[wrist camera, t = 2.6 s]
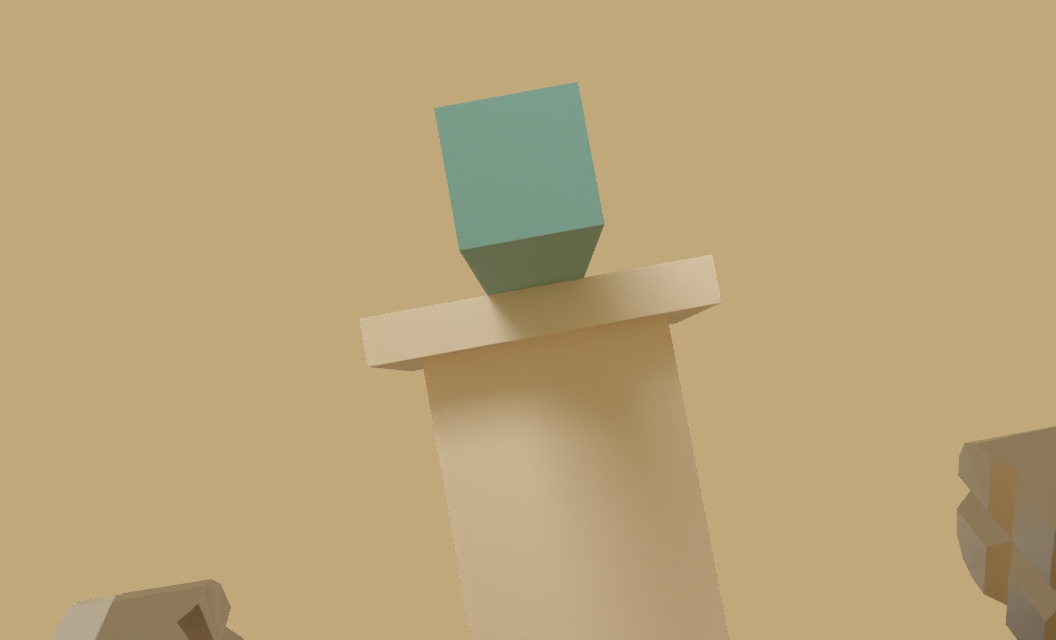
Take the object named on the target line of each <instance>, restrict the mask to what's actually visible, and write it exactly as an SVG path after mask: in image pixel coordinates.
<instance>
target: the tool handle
mask: <svg viewBox="0 0 1056 640" xmlns="http://www.w3.org/2000/svg"><path fill="white" fill-rule="evenodd" d="M434 110H435V115H436V120H437V126H438V132H439V138H440V143H441V149H442V154H443V160H444V166H445V171H446V177H447V183H448V188H449V194H450V199H451V205H452V211H453V216H454V222H455V228H456V233H457V239H458V245H459V250H460V252H461V254H462V255H463V257H464V258H465V260H466V262H467V263H468V265H469V266H470V268H471V270H472V271H473V273H474V274H475V276H476V278H477V279H478V281H479V283H480V284H481V286H482V287H483V289H484V290H485V292H486V294H487V295H492V294H498V293H503V292H509V291H514V290H520V289H525V288H531V287H536V286H542V285H547V284H553V283H558V282H564V281H569V280H575V279H580V278H584V276H585V273H586V271H587V268H588V265H589V263H590V260H591V257H592V255H593V252H594V250H595V247H596V244H597V242H598V239H599V237H600V234H601V231H602V229H603V226H604V219H603V215H602V209H601V204H600V198H599V193H598V188H597V182H596V177H595V172H594V166H593V161H592V156H591V151H590V146H589V140H588V135H587V129H586V124H585V119H584V113H583V108H582V103H581V98H580V92H579V87H578V82H575V83H570V84H564V85H559V86H553V87H548V88H542V89H537V90H531V91H526V92H520V93H515V94H509V95H504V96H498V97H494V98H487V99H482V100H477V101H471V102H466V103H460V104H455V105H449V106H444V107H438V108H435V109H434Z"/></svg>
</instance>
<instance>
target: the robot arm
mask: <svg viewBox="0 0 1056 640" xmlns="http://www.w3.org/2000/svg"><path fill="white" fill-rule="evenodd" d="M958 475H959V477H960V478H961V479H962V480H963V482H964V483H965V484H966V485H967V486H968V488H969V489H970V490H971V491H970V492H969V494H968V495H967V496H966V497H965V499H964V500H963V501H962V503H961V504H960V505H959V507H958V508H957V536H958V540H959V544H960V548H961V552H962V556H963V560H964V561H965V563H966V566H967V568H968V570H969V572H970V574H971V576H972V578H973V579H974V581H975V582H976V583H977V585H978V586H979V588H980V589H981V591H982V592H983V594H985V595H987V596H989V597H992V598H993V599H995V600H997V601H999V602H1001V603H1004V604H1006V605H1007V614H1006V625H1007V627H1008V628H1009V629H1010V631H1011V632H1012V633H1013V635H1014V636H1015V637H1016V639H1017V640H1056V426H1055V427H1050V428H1044V429H1039V430H1033V431H1028V432H1023V433H1018V434H1012V435H1007V436H1001V437H996V438H991V439H986V440H980V441H975V442H969V443H964V446H963V448H962V451H961V453H960V456H959V472H958ZM230 609H231V607H230V604H229V602H228V600H227V597H226V595H225V593H224V591H223V589H222V586H221V584H220V583H218V582H216V581H214V580H204V581H198V582H192V583H186V584H180V585H173V586H167V587H160V588H154V589H148V590H142V591H135V592H129V593H123V594H122V595H113V596H107V597H101V598H95V599H89V600H84V601H78V602H76V603H75V604H74V605H72V606H70V607H69V608H68V609H67V610H66V611H65V613H64V615H63V617H62V619H61V621H60V623H59V625H58V627H57V629H56V631H55V633H54V635H53V637H52V639H51V640H243V638H242V637H240V636H239V635H237V634H236V633H234V632H233V631H231V630H230V629H228V628H226V623H227V620H228V616H229V612H230Z"/></svg>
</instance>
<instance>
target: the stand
mask: <svg viewBox="0 0 1056 640" xmlns="http://www.w3.org/2000/svg"><path fill="white" fill-rule="evenodd" d="M719 303H721V298H720V293H719V287H718V283H717V278H716V272H715V267H714V262H713V257H712V255H707V256H701V257H696V258H691V259H685V260H680V261H674V262H668V263H663V264H657V265H652V266H646V267H641V268H636V269H630V270H625V271H619V272H613V273H608V274H602V275H597V276H591V277H586V278H580V279H575V280H569V281H564V282H558V283H553V284H547V285H542V286H536V287H531V288H525V289H520V290H514V291H509V292H503V293H498V294H492V295H487V296H482V297H477V298H471V299H465V300H459V301H454V302H448V303H443V304H438V305H432V306H426V307H421V308H415V309H411V310H404V311H399V312H393V313H388V314H383V315H377V316H372V317H366V318H361V319H360V325H361V330H362V336H363V343H364V348H365V354H366V360H367V366H368V367H375V368H385V369H395V370H405V371H415V370H421V369H424V374H425V379H426V385H427V391H428V397H429V403H430V408H431V414H432V420H433V426H434V432H435V437H436V442H437V449H438V455H439V461H440V466H441V472H442V478H443V483H444V489H445V495H446V501H447V506H448V512H449V518H450V524H451V530H452V535H453V541H454V546H455V552H456V559H457V564H458V570H459V576H460V582H461V587H462V593H463V599H464V604H465V610H466V616H467V622H468V628H469V633H470V639H471V640H729V636H728V631H727V626H726V621H725V615H724V610H723V605H722V600H721V595H720V589H719V584H718V579H717V574H716V568H715V563H714V558H713V553H712V548H711V542H710V537H709V533H708V527H707V522H706V516H705V511H704V506H703V501H702V496H701V490H700V485H699V480H698V475H697V469H696V464H695V459H694V454H693V448H692V443H691V438H690V433H689V428H688V422H687V417H686V412H685V407H684V402H683V397H682V392H681V386H680V381H679V375H678V370H677V365H676V360H675V355H674V350H673V344H672V339H671V334H670V328H669V324H674V323H678V322H679V321H682V320H684V319H686V318H689V317H690V316H693V315H695V314H697V313H699V312H702V311H704V310H706V309H708V308H710V307H713V306H715V305H717V304H719Z"/></svg>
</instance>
